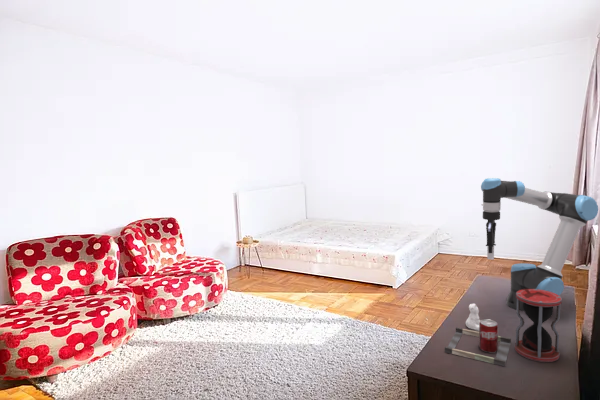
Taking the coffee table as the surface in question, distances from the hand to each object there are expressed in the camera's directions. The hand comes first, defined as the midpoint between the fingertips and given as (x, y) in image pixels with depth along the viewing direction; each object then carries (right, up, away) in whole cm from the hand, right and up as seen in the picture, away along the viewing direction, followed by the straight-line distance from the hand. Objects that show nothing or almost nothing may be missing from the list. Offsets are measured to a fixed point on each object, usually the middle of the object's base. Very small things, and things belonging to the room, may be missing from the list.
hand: (490, 258), depth 189 cm
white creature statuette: (-8, -33, -1) cm, 34 cm away
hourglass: (+7, -36, -25) cm, 44 cm away
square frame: (-14, -36, -19) cm, 43 cm away
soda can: (-11, -36, -21) cm, 43 cm away
